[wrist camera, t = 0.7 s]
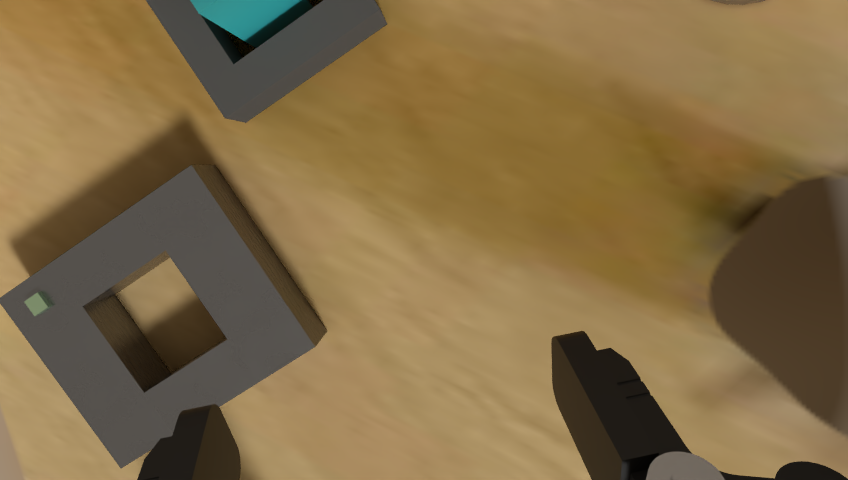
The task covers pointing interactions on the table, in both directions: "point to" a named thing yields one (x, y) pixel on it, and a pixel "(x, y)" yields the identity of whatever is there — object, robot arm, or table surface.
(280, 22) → the plug
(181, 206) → the port block
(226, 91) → the holster
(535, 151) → the table surface
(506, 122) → the table surface
